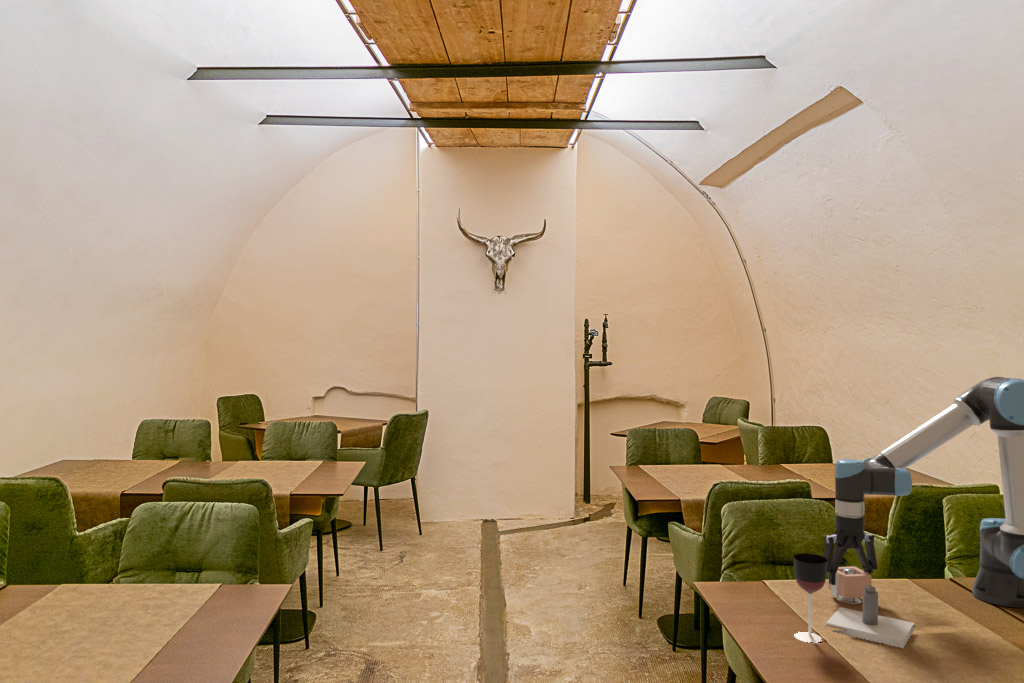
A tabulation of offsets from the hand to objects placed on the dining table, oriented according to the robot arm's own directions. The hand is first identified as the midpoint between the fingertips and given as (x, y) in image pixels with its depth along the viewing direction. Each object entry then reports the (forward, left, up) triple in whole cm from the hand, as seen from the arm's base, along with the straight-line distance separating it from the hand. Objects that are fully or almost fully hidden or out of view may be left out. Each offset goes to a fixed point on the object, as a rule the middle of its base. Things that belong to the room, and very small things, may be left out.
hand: (849, 595), depth 211 cm
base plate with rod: (-9, +16, -3) cm, 19 cm away
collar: (0, 0, +1) cm, 1 cm away
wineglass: (+2, +30, -3) cm, 30 cm away
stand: (0, 0, -3) cm, 3 cm away
